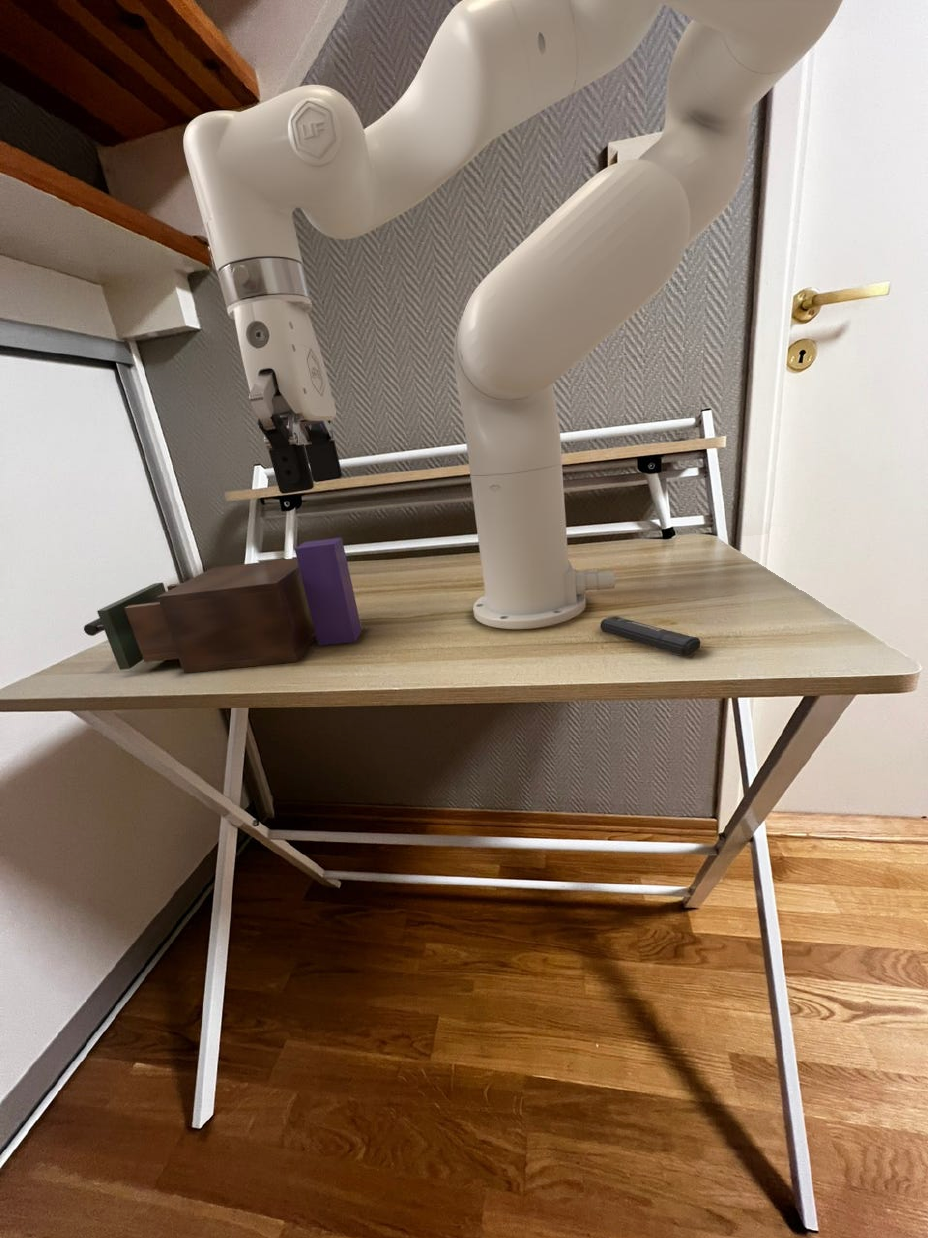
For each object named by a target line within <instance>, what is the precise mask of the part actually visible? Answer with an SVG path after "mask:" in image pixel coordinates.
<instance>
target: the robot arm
mask: <svg viewBox="0 0 928 1238" xmlns="http://www.w3.org/2000/svg"><path fill="white" fill-rule="evenodd" d="M843 1H844V0H461V1H459V2H458V3H456V5H454V7H453V8H452V9H451V10H450V11H449V13H448V14H447V16H446V17H445V19H444V20H443V22H442V23H441V25H440V26H439V28H438V30H437V31H436V34H435V36H434V37H433V40H432V41H431V43H430V46H429V48H428V50H427V52H426V55H425V57H424V58H423V61H422V63H421V65H420V67H419V69H418V71H417V73H416V75H415V77H414V79H413V80H412V82H411V83H410V84H409V86H408V88H407V89H406V90H405V92H404V93H403V94H402V96H401V97H400V98H399V99H398V100H397V102H396V103H395V104H394V105H393V106H392V107H391V108H390V109H389V110H388V111H387V112H386V113H385V114H383V115H382V116H381V117H379V119H377V120H375V121H374V122H373V123H371V124H370V125H369V126H367V127H366V128H364V126H363V123H362V122H361V118H360V116H359V114H358V112H357V111H356V109H355V107H354V105H353V104H352V103H351V102H350V101H349V99H348V98H346V96H344V95H343V94H342V93H341V92H339V91H338V90H337V89H335V88H332V87H329V86H327V85H323V84H306V85H303V86H302V85H301V86H298V87H295V88H293V89H290V90H287V91H285V92H283V93H281V94H279V95H276V96H274V97H272V98H270V99H268V100H266V101H263V102H261V103H259V104H257V105H255V106H253V107H250V108H248V109H245V110H242V111H235V110H214V111H208V112H205V113H203V114H200V115H198V116H196V117H195V118H193V119H192V120H191V121H190V122H189V123H188V124H187V126H186V128H185V131H184V133H183V138H182V141H183V143H182V144H183V152H184V156H185V160H186V164H187V168H188V172H189V175H190V179H191V181H192V182H191V183H192V186H193V190H194V194H195V197H196V201H197V205H198V208H199V211H200V216H201V220H202V223H203V226H204V231H205V233H206V237H207V241H208V245H209V248H210V252H211V255H212V259H213V264H214V266H215V270H216V274H217V277H218V282H219V286H220V289H221V293H222V297H223V300H224V305H225V308H226V311H227V315H228V318H229V319H230V320H233V321H234V324H235V329H236V335H237V340H238V345H239V350H240V354H241V355H240V356H241V359H242V364H243V368H244V372H245V376H246V381H247V385H248V390H249V394H248V400H249V402H250V405H251V407H252V409H253V412H254V413H255V415H256V417H257V426H258V428H259V430H260V431H261V432H262V434H263V441H264V446H265V448H266V449H267V450H268V454H269V458H270V461H271V465H272V469H273V472H274V476H275V480H276V483H277V488H278V491H279V493H281V494H282V495H287V494H292V493H298V492H304V491H305V492H306V491H310V490H313V489H314V487H315V483H319V482H320V483H321V482H326V481H333V480H338V479H341V478H342V477H343V472H342V468H341V462H340V458H339V454H338V450H337V446H336V441H335V435H334V432H333V429H332V427H331V425H330V424H331V421H333V420H334V419H335V417H336V415H337V408H336V405H335V404H336V403H335V400H334V396H333V392H332V389H331V385H330V380H329V377H328V373H327V370H326V366H325V363H324V358H323V355H322V352H321V349H320V345H319V342H318V338H317V336H316V331H315V329H314V327H313V326H314V325H313V324H312V321H311V318H310V315H309V314H308V313H309V312H311V311H312V310H313V303H312V298H311V294H310V293H311V292H310V290H309V285H308V280H307V276H306V271H305V267H304V263H303V258H302V254H301V250H300V245H299V240H298V237H297V232H296V226H295V222H294V218H293V213H294V211H295V210H296V209H300V210H301V212H302V213H303V214H304V216H305V217H306V219H307V221H308V222H309V223H310V224H311V225H312V227H313V228H315V229H316V230H317V231H318V232H319V233H321V234H322V235H325V236H326V237H328V238H332V239H335V240H351V239H356V238H359V237H362V236H364V235H366V234H369V233H370V232H372V231H374V230H375V229H378V228H380V227H381V226H383V225H384V224H386V223H388V222H390V221H391V220H393V219H395V218H398V217H399V216H400V215H402V214H404V213H406V212H407V211H409V210H411V209H412V208H414V207H415V206H417V205H418V204H420V203H421V202H423V201H424V200H425V199H427V198H428V197H429V196H431V195H432V194H433V193H434V192H435V191H436V190H438V189H439V188H440V187H441V186H442V185H444V184H445V183H446V182H447V181H448V180H449V179H450V178H452V177H453V176H454V175H456V174H457V173H458V172H459V171H460V170H461V169H463V168H464V167H465V166H466V165H468V164H469V163H470V162H471V161H472V160H473V159H474V158H475V157H477V156H478V155H479V154H480V153H481V151H482V150H484V149H485V148H486V146H488V145H489V144H490V143H491V142H493V141H494V140H495V139H497V138H498V137H500V136H501V135H503V134H505V133H507V132H509V130H512V129H513V128H515V127H517V126H518V125H520V124H522V123H524V122H525V121H527V120H528V119H530V118H532V117H534V116H535V115H537V114H539V113H541V112H542V111H544V110H545V109H548V108H550V107H552V106H553V105H554V104H557V103H558V102H560V101H562V100H563V99H565V98H567V97H569V96H571V95H573V94H574V93H576V92H578V91H580V90H582V89H583V88H585V87H587V86H589V85H590V84H592V83H594V82H595V81H597V80H599V79H600V78H602V77H604V76H606V75H607V74H609V73H611V72H612V71H614V70H615V69H616V68H617V67H619V66H621V65H622V64H623V63H624V62H625V61H627V60H628V59H629V58H630V56H632V54H634V52H635V51H636V50H637V49H638V47H639V46H640V44H641V43H642V42H643V40H644V38H645V36H646V35H647V33H648V32H649V31H650V29H651V27H652V25H653V23H654V21H655V19H656V18H657V16H658V14H659V12H660V11H661V9H662V7H663V6H664V5H665V6H666V7H668V8H669V9H672V10H674V11H675V12H677V13H680V14H682V15H683V16H686V17H688V18H689V19H691V20H690V21H689V23H688V25H687V27H686V28H685V29H684V31H683V34H682V35H681V37H680V39H679V41H678V43H677V45H676V48H675V50H674V53H673V56H672V60H671V62H670V67H669V70H668V76H667V82H666V88H665V111H664V112H665V113H664V114H665V116H664V126H663V132H662V134H661V136H660V138H659V139H658V140H657V141H656V142H655V143H654V144H652V145H651V146H649V148H648V149H646V150H645V151H644V152H643V153H642V154H641V155H640V156H639V157H638V158H637V159H636V158H635V159H627V160H622V161H619V162H616V163H614V164H611V165H608V166H607V167H605V168H603V169H602V170H601V171H599V172H597V173H596V174H594V175H593V176H592V177H591V178H589V180H587V181H586V182H585V183H584V184H583V185H582V186H581V187H580V188H578V190H576V191H575V192H574V193H573V194H571V196H570V197H569V198H567V200H566V201H564V202H563V203H562V204H561V205H560V206H559V207H558V208H557V209H556V210H555V211H554V212H553V213H552V214H551V215H550V216H549V217H547V218H546V219H545V221H544V222H542V223H541V224H540V225H539V226H538V227H536V229H534V231H533V232H531V233H530V234H529V235H528V236H527V237H526V238H525V239H524V240H523V241H522V242H521V243H520V244H519V245H518V246H516V247H515V249H513V250H512V251H511V252H510V253H509V254H508V255H507V256H506V257H505V258H504V259H503V260H502V261H501V262H500V263H499V264H497V265H496V267H494V268H493V269H492V270H491V271H490V272H489V273H488V274H487V275H486V276H485V277H484V278H483V279H482V281H481V282H480V283H479V284H478V285H477V286H476V288H475V289H474V291H473V293H471V295H470V297H469V299H468V301H467V303H466V306H465V307H464V310H463V313H462V314H461V317H460V319H459V322H458V324H457V328H456V331H455V335H454V342H453V369H454V376H455V383H456V388H457V393H458V400H459V405H460V410H461V417H462V423H463V424H462V425H463V428H464V430H463V431H464V437H465V443H466V451H467V459H468V468H469V477H470V485H471V493H472V501H473V509H474V516H475V517H474V519H475V525H476V533H477V540H478V549H479V557H480V564H481V565H480V566H481V573H482V580H483V590H484V595H483V596H481V597H479V598H478V599H477V600H476V601H475V602H474V604H473V606H472V610H473V617H474V619H475V620H476V621H477V622H479V623H481V624H482V625H485V626H488V627H491V628H497V629H504V630H528V629H529V630H530V629H531V630H532V629H539V628H544V627H551V626H555V625H558V624H561V623H565V622H566V621H570V620H572V619H574V618H576V617H577V616H579V615H580V614H581V613H582V612H584V610H585V609H586V606H587V603H586V602H587V600H586V591H592V590H597V591H603V590H611V589H615V588H616V577H615V573H614V570H606V571H599V569H598V568H591V569H590V568H589V569H585V570H577V569H576V568H574V567H573V565H572V563H571V562H570V560H569V550H568V547H569V546H568V535H567V519H566V506H565V505H566V504H565V492H564V491H565V490H564V476H563V452H562V440H561V431H560V429H561V428H560V421H559V415H558V408H557V402H556V397H555V392H554V391H555V390H554V385H553V384H554V383H555V382H557V381H558V380H559V379H560V378H562V377H563V376H564V375H566V374H567V373H568V372H569V371H570V370H571V369H573V368H574V367H575V366H576V365H577V364H579V363H580V362H581V361H582V360H583V359H584V358H586V357H587V356H588V355H589V354H590V353H592V352H593V351H594V350H595V349H596V348H597V347H598V346H599V345H601V344H602V343H603V342H604V341H605V340H606V339H608V338H609V337H610V336H611V335H612V334H613V333H614V332H616V331H617V330H618V329H619V328H620V327H621V326H622V325H623V324H625V323H626V322H627V321H628V320H630V318H632V317H633V316H635V314H637V312H639V311H640V310H641V309H642V308H643V307H644V306H645V305H647V304H648V303H649V302H650V301H651V300H652V299H653V298H654V297H656V295H658V293H659V292H661V290H663V288H664V287H665V286H666V285H667V283H668V282H669V281H670V280H671V279H672V277H673V276H674V274H675V272H676V271H677V269H678V268H679V266H680V264H681V262H682V259H683V257H684V256H685V255H684V254H685V252H686V250H687V248H688V247H689V246H690V245H691V244H692V243H693V242H694V241H696V239H697V238H698V237H699V236H701V234H703V233H704V232H705V230H707V229H708V228H709V227H710V226H711V225H712V224H713V223H714V222H716V220H717V219H718V218H719V217H720V216H721V215H722V214H723V212H724V211H725V210H726V209H727V207H729V205H730V203H731V202H732V201H733V199H734V197H735V195H736V193H737V191H738V190H739V187H740V185H741V182H742V179H743V176H744V172H745V169H746V163H747V159H748V153H749V142H750V126H751V117H752V112H753V109H754V108H755V106H756V105H757V104H758V103H759V102H760V101H761V100H762V99H763V98H764V96H765V95H767V93H768V92H770V90H771V89H772V88H773V87H775V85H776V84H777V83H779V81H780V80H781V79H782V78H784V76H785V75H787V74H788V73H789V72H790V71H791V69H793V67H795V66H796V65H797V64H798V63H799V61H801V60H802V59H803V58H804V57H805V55H807V53H808V52H809V51H810V50H812V48H813V47H814V46H815V45H816V44H817V43H818V42H819V40H820V39H821V38H822V36H823V35H824V33H825V32H826V31H827V29H828V28H829V27H830V25H831V23H833V21H834V19H835V18H836V15H837V13H838V11H839V9H840V7H841V5H842V3H843ZM300 431H301V433H302V435H303V437H304V438H305V440H306V442H307V444H304V443H303V444H302V443H301V444H300ZM314 482H315V483H314Z"/></svg>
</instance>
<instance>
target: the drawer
mask: <svg viewBox="0 0 928 1238" xmlns="http://www.w3.org/2000/svg"><path fill="white" fill-rule="evenodd" d="M183 583H184V582H180V583H179V582H178V583H172V584H168V585H167V586H166V587H165V585H164V582H155V583H152V584H150V585H148V586H146V587H144V588H142V589H140V590H137V591H136V592H133V593H131V594H129V595H127V596H125V597H122V598H120V599H119V600H116V601H115V602H113V603H111V604H109V605H106V606H104V607H102V608H100V609H98V610H96V612H97V615H98V618H96V619H94V620H92V621H90V622H89V623H86V624H85V625H84V627H83V631H84V633H85V634H86V635H87V636H90V637H93V636H94V637H95V636H96V635H98V634H100V633H102V632H104V633H105V636H106V639H107V641H108V642H109V645H110V649H111V651H112V654H113V657H114V658H115V662H116V663H117V666H118V669H119V670H120V671H121V670H122V671H123V670H130V669H132V668H134V666H136V665H138V664H139V663H140V662H142V661H144V663H151V662H159V661H161V662H162V661H168V660H169V661H170V660H177V659H178V660H179V658H178V655H177V652H176V649H175V646H174V644H173V641H172V638H171V635H170V632H169V629H168V626H167V623H166V620H165V617H164V615H163V612H162V609H161V606H160V603H159V600H158V596H160V595H162V594H163V593H165V592H167V591H169V590H171V589H173V588H175V587H177V586H179V585H181V584H183ZM166 588H167V589H166Z"/></svg>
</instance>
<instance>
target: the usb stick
mask: <svg viewBox="0 0 928 1238" xmlns="http://www.w3.org/2000/svg"><path fill="white" fill-rule="evenodd" d="M599 627H600V630H601V631H602V633H604V634H608V635H612V636H615V637H618V638H621V639H624V640H628V641H632V642H634V643H637V644H641V645H644V646H647V647H650V648H654V649H657V650H659V651H664V652H667V653H670V654H673V655H677V656H681V657H684V658H685V657H686V658H687V657H691V656H692V655H693V654H695V653H697V651H699V649H700V648H701V639H700V638H699V637H696V636H693V635H688V634H684V633H680V632H676V631H673V630H669V629H668V630H667V629H666V628H665V629H664V628H661V627H657V626H653V625H650V624H646V623H643V622H638V621H634V620H632V619H628V618H624V617H619V616H616V615H615V616H614V615H613V616H610V617H606V618H604V619H602V620H601V621H600V625H599Z"/></svg>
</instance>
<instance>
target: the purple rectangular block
mask: <svg viewBox="0 0 928 1238" xmlns="http://www.w3.org/2000/svg"><path fill="white" fill-rule="evenodd" d="M294 553H295V558H297V561H298V565H299V569H300V573H301V577H302V581H303V585H304V589H305V593H306V597H307V601H308V605H309V609H310V613H311V618H312V622H313V626H314V630H315V634H316V638H317V639H316V641H317V642H316V643H317V646H318V647H322V646H330V645H340V644H349V643H356V641H357V640H358V638H359V637H360V635H361V633H362V632H363V630H362V625H361V620H360V616H359V610H358V606H357V602H356V597H355V593H354V589H353V583H352V579H351V573H350V569H349V564H348V560H347V555H346V551H345V546H344V540H343V537H334V538H327V539H326V538H325V539H319V540H310V541H303V542H302V543H301V544H300V545H298V546H297V547H295V548H294Z"/></svg>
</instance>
